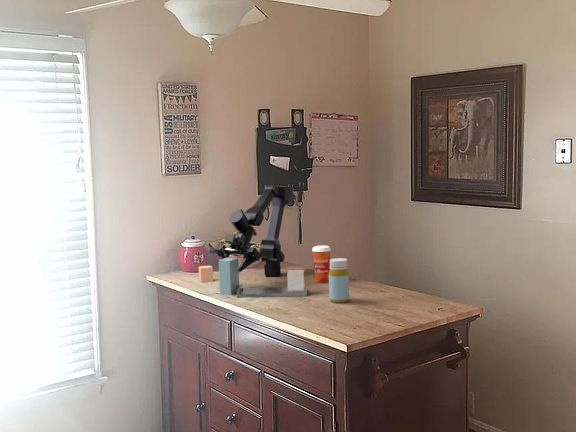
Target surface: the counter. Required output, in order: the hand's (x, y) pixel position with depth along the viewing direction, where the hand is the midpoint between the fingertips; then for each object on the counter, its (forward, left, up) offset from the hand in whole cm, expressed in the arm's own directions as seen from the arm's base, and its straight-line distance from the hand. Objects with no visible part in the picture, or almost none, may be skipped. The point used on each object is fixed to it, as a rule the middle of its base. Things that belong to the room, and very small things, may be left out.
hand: (229, 270), depth 265 cm
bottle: (-40, +20, -9) cm, 46 cm away
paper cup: (-36, -14, -9) cm, 40 cm away
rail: (-16, +5, -8) cm, 19 cm away
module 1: (+12, -22, -8) cm, 27 cm away
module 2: (0, 0, -8) cm, 8 cm away
